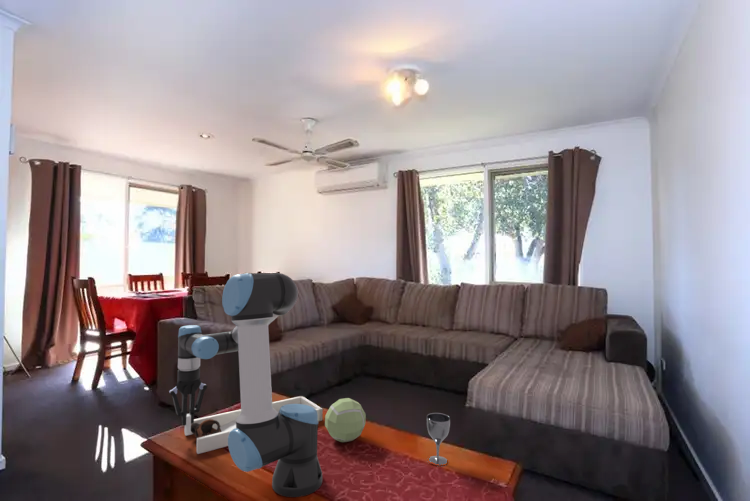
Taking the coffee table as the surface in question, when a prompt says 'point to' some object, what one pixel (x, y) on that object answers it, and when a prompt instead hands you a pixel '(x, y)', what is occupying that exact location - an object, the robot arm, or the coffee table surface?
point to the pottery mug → (205, 428)
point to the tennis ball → (345, 420)
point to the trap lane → (229, 423)
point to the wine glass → (438, 433)
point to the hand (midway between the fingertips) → (187, 433)
